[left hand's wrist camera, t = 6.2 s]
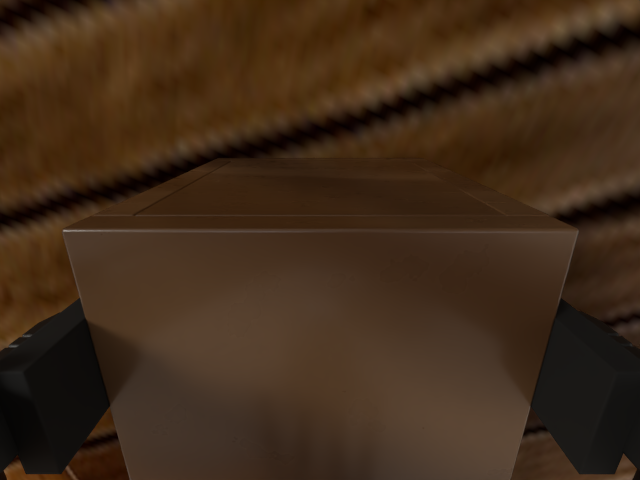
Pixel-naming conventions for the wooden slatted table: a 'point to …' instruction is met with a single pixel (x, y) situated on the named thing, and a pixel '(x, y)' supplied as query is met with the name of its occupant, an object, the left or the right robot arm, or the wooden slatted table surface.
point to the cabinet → (320, 320)
